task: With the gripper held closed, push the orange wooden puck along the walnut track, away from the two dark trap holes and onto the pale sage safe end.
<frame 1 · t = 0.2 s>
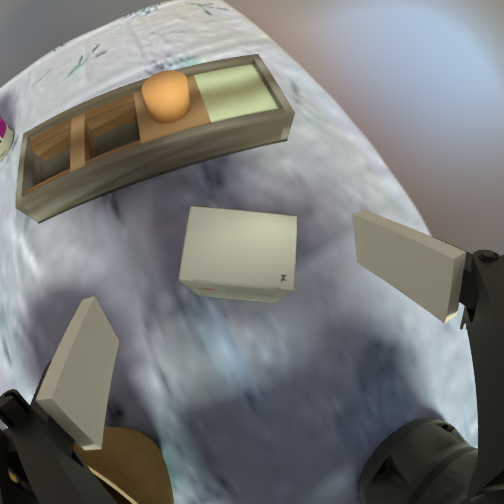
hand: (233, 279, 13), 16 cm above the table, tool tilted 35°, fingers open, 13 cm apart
supplement can: (0, 150, 32), on the table
puck: (169, 108, 29), point 4 cm above the table, touching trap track
plant pot: (134, 453, 24), on the table
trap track: (146, 140, 33), on the table
small box: (238, 274, 30), on the table
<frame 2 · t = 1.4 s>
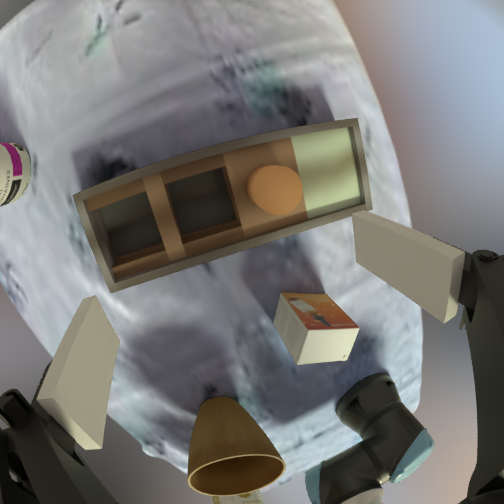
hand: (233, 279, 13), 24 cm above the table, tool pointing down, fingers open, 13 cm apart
supplement can: (12, 172, 27), on the table
juice carton: (225, 456, 53), on the table
puck: (268, 186, 32), point 4 cm above the table, touching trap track
plant pot: (220, 407, 47), on the table
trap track: (227, 191, 35), on the table
small box: (299, 307, 44), on the table
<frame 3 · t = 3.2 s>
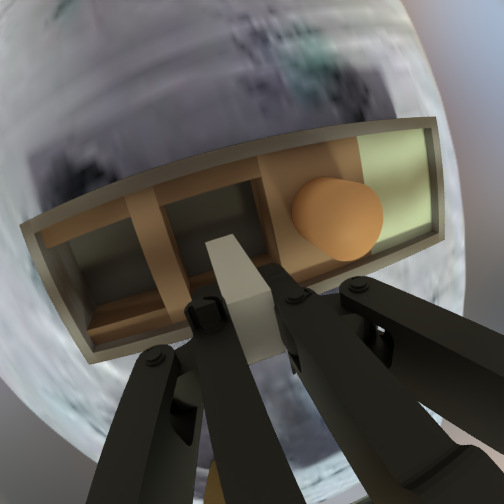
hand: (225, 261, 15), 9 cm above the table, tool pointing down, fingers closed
puck: (323, 210, 20), point 4 cm above the table, touching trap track
plant pot: (234, 460, 36), on the table
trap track: (256, 213, 24), on the table
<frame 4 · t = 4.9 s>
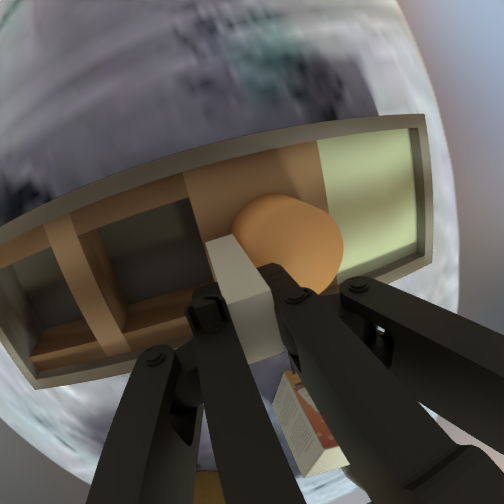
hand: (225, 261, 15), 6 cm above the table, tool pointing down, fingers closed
puck: (272, 234, 17), point 5 cm above the table, touching gripper
plant pot: (204, 478, 33), on the table
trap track: (200, 234, 21), on the table
small box: (308, 384, 29), on the table
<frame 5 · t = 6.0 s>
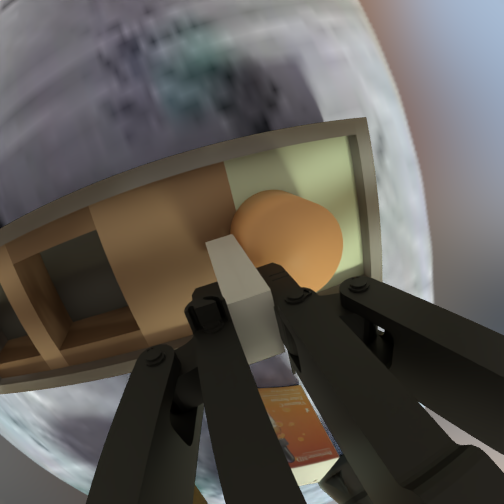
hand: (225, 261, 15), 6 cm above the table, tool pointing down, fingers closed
puck: (271, 231, 17), point 5 cm above the table, touching gripper
plant pot: (172, 483, 32), on the table
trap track: (129, 257, 20), on the table
small box: (260, 401, 29), on the table
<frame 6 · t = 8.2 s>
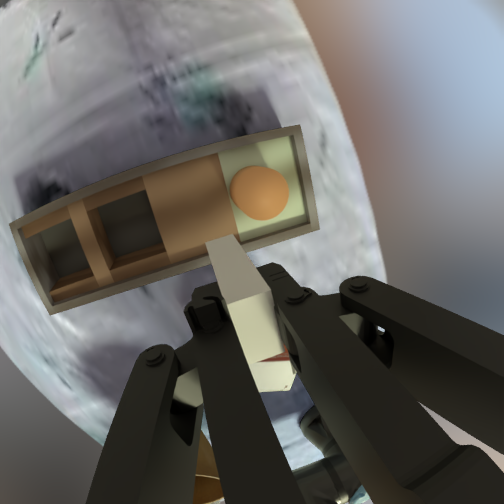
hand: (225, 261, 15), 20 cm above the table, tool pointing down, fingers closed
puck: (252, 188, 30), point 4 cm above the table, touching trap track
plant pot: (175, 420, 45), on the table
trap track: (158, 212, 32), on the table
small box: (246, 329, 41), on the table
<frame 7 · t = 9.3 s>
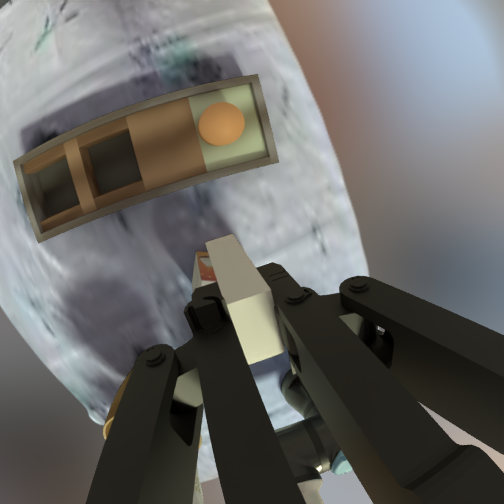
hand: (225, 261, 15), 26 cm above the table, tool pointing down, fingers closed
puck: (217, 126, 33), point 4 cm above the table, touching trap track
plant pot: (152, 372, 48), on the table
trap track: (140, 153, 35), on the table
small box: (218, 269, 44), on the table
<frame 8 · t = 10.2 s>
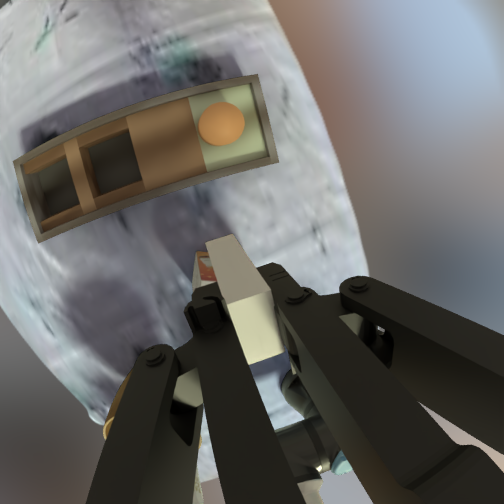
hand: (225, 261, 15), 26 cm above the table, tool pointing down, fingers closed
puck: (217, 126, 33), point 4 cm above the table, touching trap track
plant pot: (152, 372, 48), on the table
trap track: (140, 153, 35), on the table
small box: (218, 269, 44), on the table
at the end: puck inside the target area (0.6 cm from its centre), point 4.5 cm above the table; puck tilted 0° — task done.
